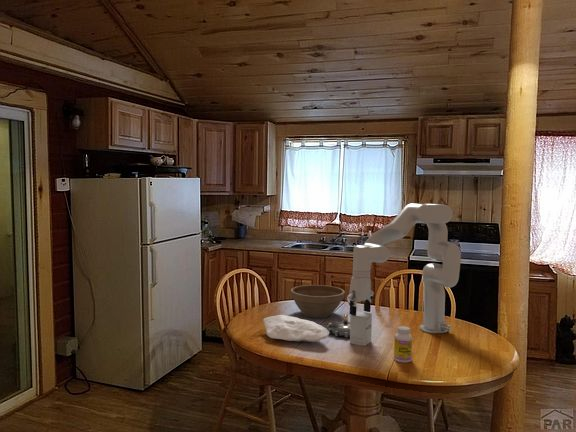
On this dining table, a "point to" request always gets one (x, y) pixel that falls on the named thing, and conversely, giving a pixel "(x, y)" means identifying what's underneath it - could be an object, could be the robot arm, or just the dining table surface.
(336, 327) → the sprocket disc
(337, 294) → the flower pot
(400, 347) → the supplement bottle
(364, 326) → the supplement box
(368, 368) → the dining table surface
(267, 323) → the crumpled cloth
